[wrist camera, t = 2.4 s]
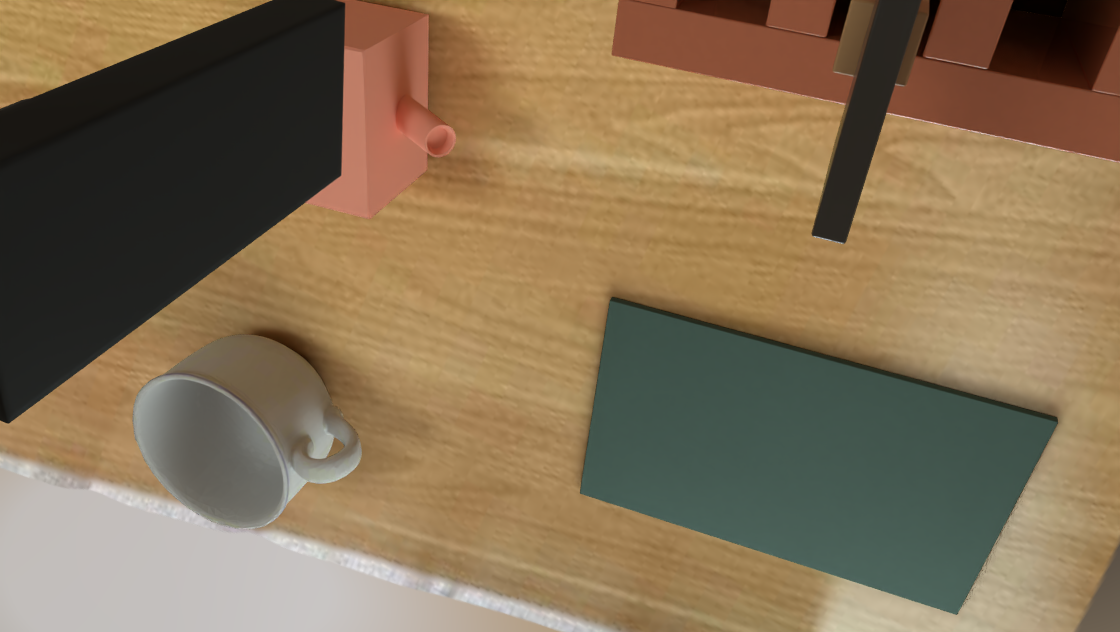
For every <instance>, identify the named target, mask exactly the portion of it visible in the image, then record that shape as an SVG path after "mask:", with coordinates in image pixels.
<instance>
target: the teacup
mask: <svg viewBox="0 0 1120 632" xmlns="http://www.w3.org/2000/svg"><path fill="white" fill-rule="evenodd" d="M133 425H134V435H135V440H136V441H137V443H138V446H139V448H140V450H141V453H142V455H143V458H144V460H145V462H146V463H147V465H148V466H149V468H150V469H151V471H152V473H153V474H154V475H155V476H156V478H157V479H158V480H159V481H160V482H161V484H162V485H163V486H164V487H165V488H166V489H167V490H168V491H169V492H170V493H171V494H172V495H173V496H174V497H175V498H176V499H178V500H179V501H180V502H181V503H183V504H184V505H185V506H186V507H187V508H189V509H190V510H192V511H194V512H195V513H196V514H198V515H200V516H202V517H204V518H206V519H207V520H210V521H211V522H214V523H217V524H219V525H222V526H226V527H232V528H235V529H239V528H241V529H254V528H260V527H263V526H265V525H267V524H269V523H270V522H272V521H274V520H275V519H276V518H277V517H278V516H279V515H280V514H281V513H282V511H283V510H284V508H285V506H286V504H287V503H288V502H289V501H290V500H291V499H292V498H293V497H294V496H295V495H296V494H297V493H298V491H299V490H300V489H301V488H302V487H303V486H304V485H305V484H306V483H307V481H309V482H312V483H318V484H321V483H329V482H333V481H336V480H339V479H341V478H343V477H345V476H347V475H348V474H349V473H350V472H351V471H353V470H354V469H355V468H356V466H357V465H358V464H359V461H360V458H361V454H362V450H361V443H360V440H359V437H358V434H357V432H356V431H355V429H354V428H353V427H352V426H351V425H350V424H349V423H348V422H347V421H346V420H345V419H344V418H343V413H342V411H341V410H340V409H339V408H338V407H336V406H333V405H332V401H331V398H330V396H329V393H328V391H327V389H326V387H325V385H324V383H323V381H322V379H321V378H320V376H319V375H318V373H317V372H316V371H315V369H314V368H313V367H312V366H311V365H310V364H309V363H308V362H307V361H306V360H305V359H304V358H303V357H302V356H300V355H299V354H297V353H296V352H294V351H293V350H291V349H290V348H288V347H286V346H285V345H283V344H281V343H279V342H276V341H274V340H272V339H269V338H266V337H262V336H257V335H232V336H227V337H224V338H220V339H218V340H216V341H213V342H211V343H209V344H207V345H206V346H204V347H202V348H201V349H199V350H198V351H196V352H194V353H193V354H191V355H190V356H188V357H187V358H185V359H184V360H182V361H181V362H180V363H178V364H177V365H175V366H174V367H173V368H171V369H170V370H169V371H167V372H166V373H165V374H163V375H160V376H158V377H156V378H154V379H152V380H150V381H149V382H148V383H147V384H146V385H145V386H143V387H142V389H141V390H140V391H139V393H138V395H137V397H136V400H135V404H134V409H133ZM334 437H336V438H337V439H339V440H340V441H341V442H342V443H343V444H344V448H343V449H342V450H341V451H339V452H338V453H337V454H334V455H332V456H330V457H328V458H326V457H327V455H328V453H329V451H330V449H331V446H332V443H333V440H334Z"/></svg>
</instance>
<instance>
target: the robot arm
mask: <svg viewBox="0 0 1120 632" xmlns="http://www.w3.org/2000/svg"><path fill="white" fill-rule="evenodd" d="M344 41H345V3H344V2H340V1H336V0H272V1H269V2H267V3H264V4H262V5H260V6H257V7H255V8H252V9H250V10H247V11H245V12H242V13H240V14H237V15H235V16H232V17H230V18H228V19H225V20H223V21H220V22H218V23H215V24H213V25H210V26H208V27H205V28H203V29H200V30H198V31H196V32H193V33H191V34H188V35H186V36H183V37H181V38H178V39H176V40H173V41H171V42H168V43H166V44H164V45H161V46H159V47H156V48H154V49H151V50H149V51H146V52H144V53H141V54H139V55H136V56H134V57H132V58H129V59H127V60H124V61H122V62H119V63H117V64H114V65H112V66H109V67H107V68H104V69H102V70H100V71H97V72H95V73H92V74H90V75H87V76H85V77H82V78H80V79H77V80H75V81H72V82H70V83H68V84H65V85H63V86H60V87H58V88H55V89H53V90H50V91H48V92H45V93H43V94H40V95H38V96H36V97H33V98H30V99H25V100H21V101H19V102H16V103H14V104H11V105H9V106H6V107H4V108H1V109H0V421H3V422H5V423H8V424H9V423H10V422H11V421H13V420H14V419H15V418H17V417H18V416H19V415H21V414H22V413H24V412H25V411H26V410H28V409H29V408H30V407H32V406H33V405H34V404H36V403H37V402H38V401H40V400H41V399H42V398H44V397H45V396H46V395H48V394H49V393H50V392H52V391H53V390H54V389H56V388H57V387H58V386H60V385H61V384H62V383H64V382H65V381H66V380H68V379H69V378H70V377H72V376H73V375H74V374H76V373H77V372H79V371H80V370H81V369H83V368H84V367H85V366H87V365H88V364H89V363H91V362H92V361H93V360H95V359H96V358H97V357H99V356H100V355H101V354H103V353H104V352H105V351H107V350H108V349H109V348H111V347H112V346H113V345H115V344H116V343H117V342H119V341H120V340H121V339H123V338H124V337H125V336H127V335H128V334H129V333H131V332H132V331H134V330H135V329H136V328H138V327H139V326H140V325H142V324H143V323H144V322H146V321H147V320H148V319H150V318H151V317H152V316H154V315H155V314H156V313H158V312H159V311H160V310H162V309H163V308H164V307H166V306H167V305H168V304H170V303H171V302H172V301H174V300H175V299H176V298H178V297H179V296H180V295H182V294H183V293H185V292H186V291H187V290H189V289H190V288H191V287H193V286H194V285H195V284H197V283H198V282H199V281H201V280H202V279H203V278H205V277H206V276H207V275H209V274H210V273H211V272H213V271H214V270H215V269H217V268H218V267H219V266H221V265H222V264H223V263H225V262H226V261H227V260H229V259H230V258H231V257H233V256H234V255H235V254H237V253H238V252H240V251H241V250H242V249H244V248H245V247H246V246H248V245H249V244H250V243H252V242H253V241H254V240H256V239H257V238H258V237H260V236H261V235H262V234H264V233H265V232H266V231H268V230H269V229H270V228H272V227H273V226H274V225H276V224H277V223H278V222H280V221H281V220H282V219H284V218H285V217H286V216H288V215H289V214H290V213H292V212H293V211H295V210H296V209H297V208H299V207H300V206H301V205H303V204H304V203H305V202H307V201H308V200H309V199H311V198H312V197H313V196H315V195H316V194H317V193H319V192H320V191H321V190H323V189H324V188H325V187H327V186H328V185H329V184H331V183H332V182H333V181H335V180H336V179H337V178H339V177H340V176H341V174H342V130H343V85H344Z"/></svg>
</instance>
